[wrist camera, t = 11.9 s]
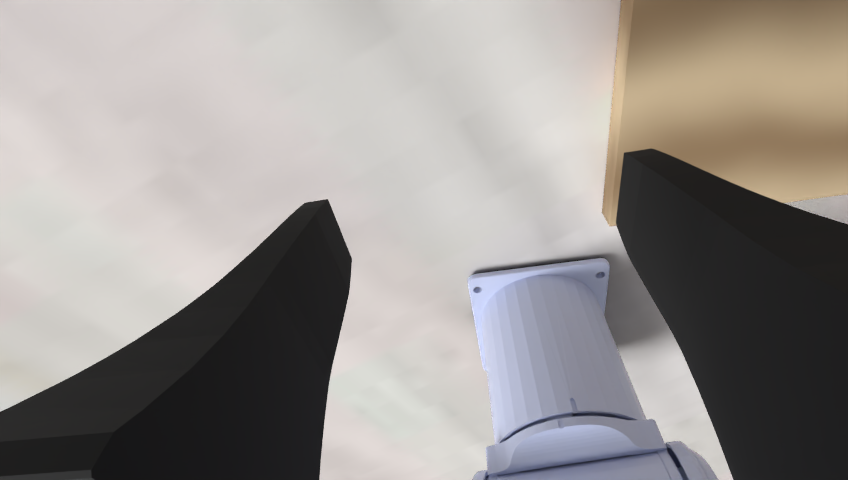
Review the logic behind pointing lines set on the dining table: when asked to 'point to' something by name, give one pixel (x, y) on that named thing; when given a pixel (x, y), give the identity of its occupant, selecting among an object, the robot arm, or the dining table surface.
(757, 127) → the board
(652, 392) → the dining table surface
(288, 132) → the dining table surface
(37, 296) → the dining table surface
